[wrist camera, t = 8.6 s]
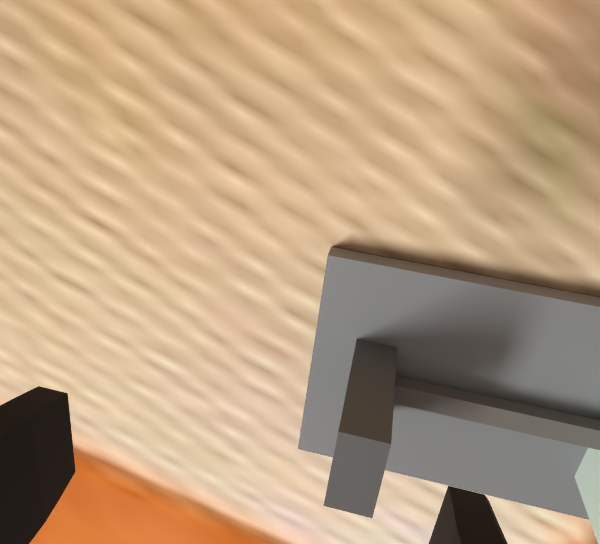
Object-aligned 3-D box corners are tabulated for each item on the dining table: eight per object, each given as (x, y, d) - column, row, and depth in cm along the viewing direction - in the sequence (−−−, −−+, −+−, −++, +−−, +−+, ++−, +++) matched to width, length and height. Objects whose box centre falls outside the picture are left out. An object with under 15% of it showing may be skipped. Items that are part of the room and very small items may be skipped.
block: (717, 509, 19) (808, 656, 15) (340, 422, 21) (319, 527, 16) (789, 403, 17) (922, 536, 12) (361, 315, 19) (343, 404, 14)
